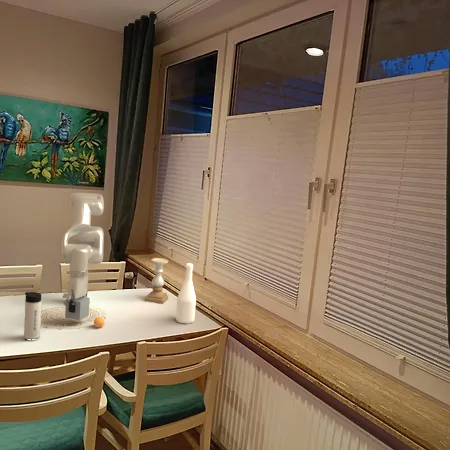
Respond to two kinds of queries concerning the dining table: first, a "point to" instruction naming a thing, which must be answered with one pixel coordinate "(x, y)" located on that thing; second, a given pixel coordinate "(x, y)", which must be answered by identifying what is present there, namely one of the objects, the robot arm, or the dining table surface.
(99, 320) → the ball
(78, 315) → the matte gray cube
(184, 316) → the wine bottle
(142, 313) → the dining table surface
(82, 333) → the dining table surface
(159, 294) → the candle holder
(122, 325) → the dining table surface
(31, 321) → the travel mug
